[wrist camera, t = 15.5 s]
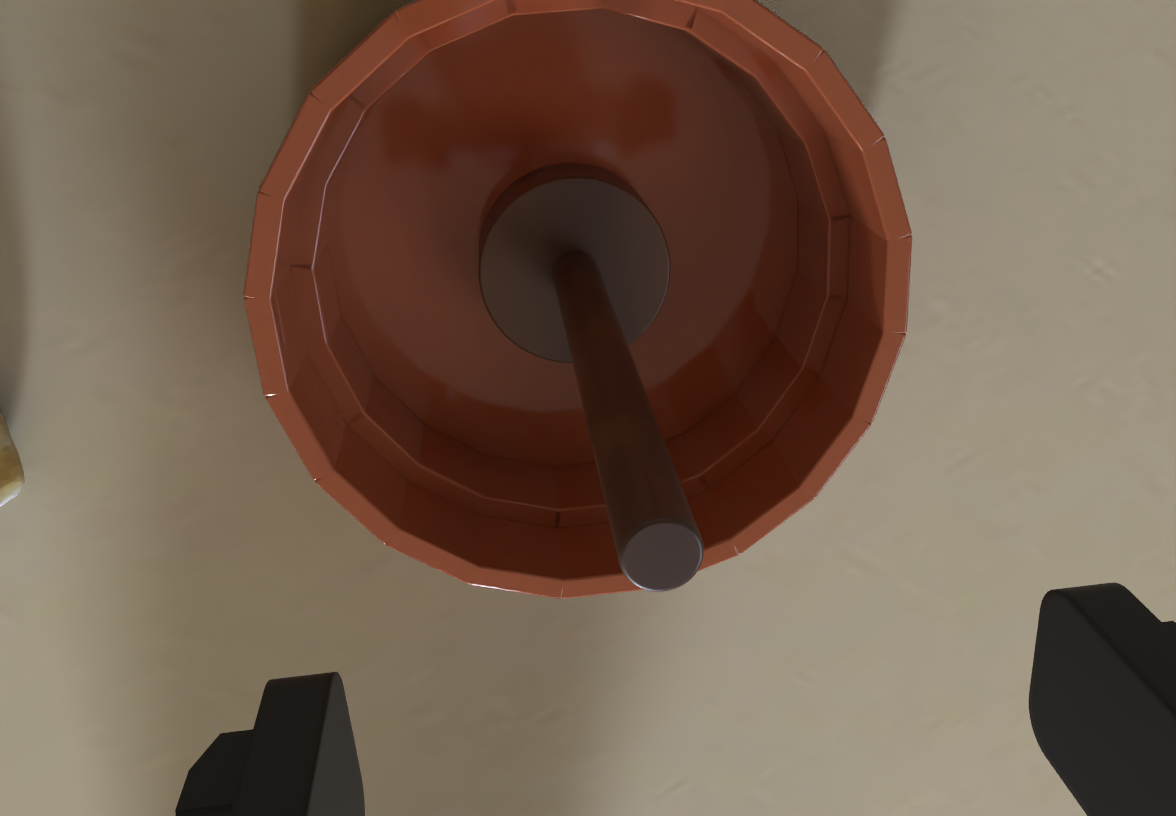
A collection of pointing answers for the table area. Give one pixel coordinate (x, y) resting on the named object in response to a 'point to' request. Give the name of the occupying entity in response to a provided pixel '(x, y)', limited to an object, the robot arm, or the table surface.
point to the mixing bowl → (549, 389)
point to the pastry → (9, 466)
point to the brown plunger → (596, 341)
